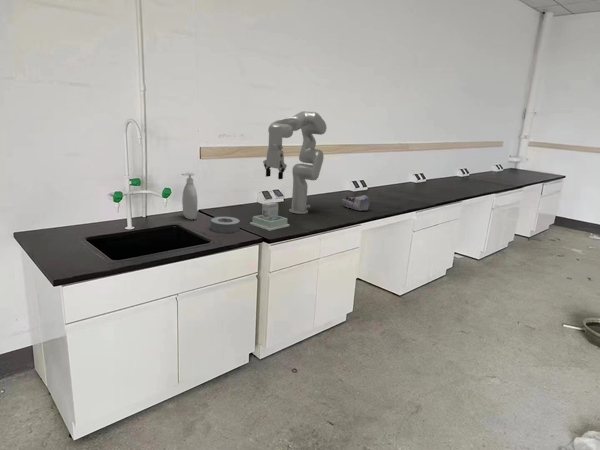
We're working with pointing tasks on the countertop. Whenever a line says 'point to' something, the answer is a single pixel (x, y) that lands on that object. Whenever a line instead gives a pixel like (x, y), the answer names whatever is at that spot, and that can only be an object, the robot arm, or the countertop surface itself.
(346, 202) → the cell model
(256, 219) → the dock
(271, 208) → the ink box
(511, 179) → the countertop surface
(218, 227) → the tape roll
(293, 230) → the countertop surface
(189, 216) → the soap bottle
